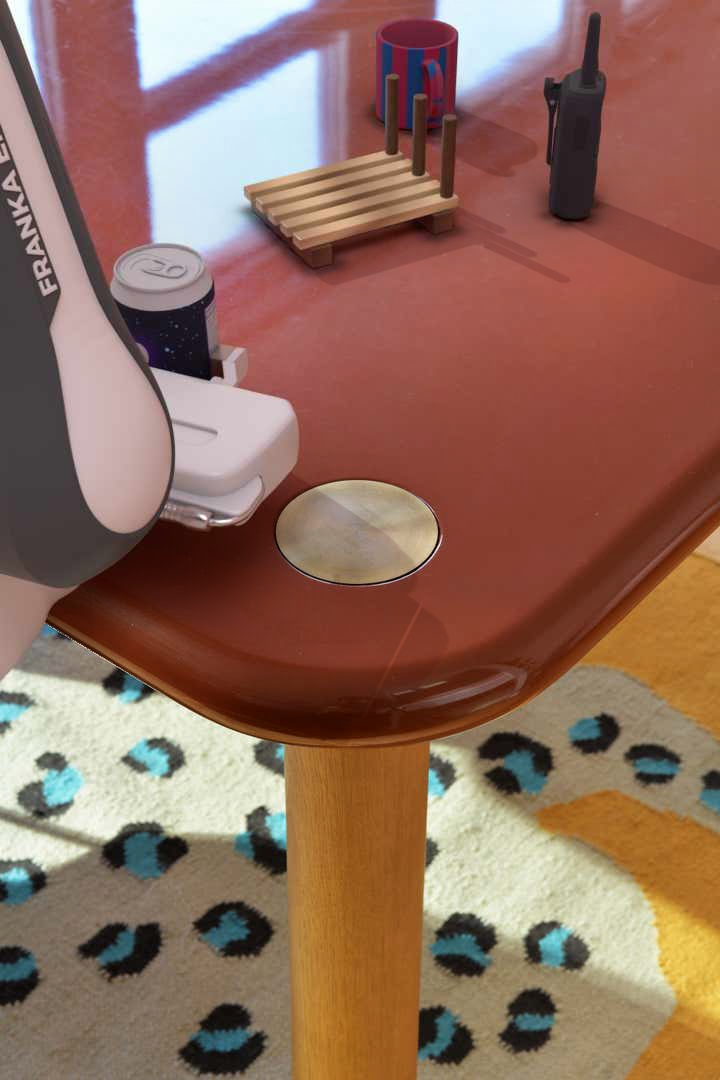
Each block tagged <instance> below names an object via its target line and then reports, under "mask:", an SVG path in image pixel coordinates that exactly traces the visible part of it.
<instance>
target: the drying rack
mask: <svg viewBox="0 0 720 1080" xmlns="http://www.w3.org/2000/svg"><path fill="white" fill-rule="evenodd" d="M457 124H458V117H457V115H456V114H455V115H451V114H448V115H445V116H443V123H442V126H441V130H442V131H441V148H440V149H441V150H440V153H441V154H440V178H439V180H438V179H433V180H431V173H428V172H427V171H426V158H427V156H426V155H427V129H426V127H427V95H425V94H416V95H414V98H413V130H412V142H411V144H412V146H411V159H410V158H404V153H402V151H400V150H399V130H400V128H399V75H397V74H389V75H387V76H386V113H385V123H384V126H385V127H384V128H385V129H384V130H385V131H384V150H381V151H378V152H374V153H370V154H366V155H362V156H358V157H354V158H351V159H346V160H342V161H339V162H334V163H331V164H327V165H322V166H318V167H315V168H311V169H307V170H303V171H299V172H295V173H291V174H287V175H284V176H279V177H276V178H271V179H268V180H267V179H266V180H264V181H260V182H255V183H252V184H247V185H244V186H243V196H244V197H245V198H246V199H247V201H249V202H250V207H251V211H252V212H253V213H254V214H255V215H256V216H257V217H258V218H259V219H260V220H261V221H262V222H263V223H264V224H265V225H266V226H267V227H269V228H270V229H271V230H272V231H273V232H274V233H275V234H276V235H277V236H278V237H279V238H280V239H281V240H282V241H283V242H284V243H285V244H286V245H287V246H288V247H289V248H290V249H291V250H292V251H293V252H294V253H295V254H296V255H298V256H299V258H300V259H302V261H304V263H306V265H308V266H309V267H310V268H311V269H312V270H315V269H318V268H323V267H325V266H329V265H332V264H333V245H332V244H331V242H335V241H339V240H342V239H346V238H349V237H350V238H351V237H353V236H357V235H361V234H363V233H367V232H371V231H374V230H379V229H382V228H385V227H390V226H393V225H396V224H401V223H403V222H407V221H411V220H415V221H416V222H418V223H419V224H420V225H422V226H423V227H424V228H425V229H426V230H428V231H429V232H430V233H431V234H432V235H434V236H435V235H438V234H442V233H445V232H449V231H453V220H454V211H453V210H452V209H454V208H457V207H459V199H460V198H459V196H458V195H457V194H456V193H454V192H455V191H454V189H455V171H456V149H457V147H456V146H457V127H458V125H457Z"/></svg>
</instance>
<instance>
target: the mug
mask: <svg viewBox="0 0 720 1080" xmlns="http://www.w3.org/2000/svg"><path fill="white" fill-rule="evenodd" d="M458 52H459V32H458V29H456V27H454V26H453V25H451V24H449V23H447V22H444V21H441V20H437V19H432V18H425V17H424V18H421V17H412V18H409V17H408V18H401V19H395V20H392V21H389V22H386V23H384V24H383V25H381V26H379V28H377V30H376V32H375V115H376V117H377V118H378V119H379V120H380V121H381V122H382V123H384V124H385V113H386V76H387V75H389V74H397V75H399V129H402V130H408V131H413V98H414V95H416V94H425V95H427V127H426V130H432V129H436V128H440V127H442V123H443V116H445V115H448V114H451V115H455V116H456V98H457V78H458V77H457V75H458V54H459V53H458Z"/></svg>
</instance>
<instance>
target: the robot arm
mask: <svg viewBox="0 0 720 1080" xmlns="http://www.w3.org/2000/svg"><path fill="white" fill-rule="evenodd" d="M10 8H11V7H10V6H9V3H8V1H7V0H0V683H1V682H2V681H3V680H4V679H5V677H7V676H8V675H9V673H10V672H11V671H12V670H13V668H14V667H15V666H16V665H17V663H18V662H19V661H20V660H21V659H22V658H23V656H24V655H25V654H26V653H27V651H28V650H29V649H30V648H31V646H32V645H33V644H34V642H35V641H36V640H37V638H38V637H39V636H40V634H41V632H42V630H43V628H44V626H45V624H46V621H47V618H48V615H49V612H50V611H51V608H52V607H53V606H54V604H56V603H57V602H58V601H59V600H60V599H61V600H62V598H65V597H66V596H67V595H69V594H71V593H72V592H73V591H75V590H76V589H77V588H78V587H79V586H81V584H83V583H86V582H87V581H90V580H91V579H93V578H95V577H97V576H98V575H100V574H102V573H103V572H105V571H106V570H108V569H109V568H111V567H112V566H113V565H115V564H116V563H118V562H119V561H120V560H121V559H122V558H124V557H125V556H127V554H129V553H130V552H131V551H132V550H133V549H134V548H135V547H136V546H137V545H138V544H139V543H140V542H141V541H142V540H143V539H144V538H145V537H146V535H147V534H148V533H149V532H150V530H151V529H152V528H153V526H154V525H156V523H157V522H158V521H163V522H169V523H170V522H171V523H174V524H177V525H181V526H182V527H184V528H186V529H188V530H191V531H196V532H206V533H207V532H210V531H211V530H212V529H213V528H225V527H232V526H237V527H238V526H242V525H244V524H245V523H247V521H248V520H250V519H251V517H252V516H253V514H254V513H255V512H256V510H257V509H258V507H259V506H260V504H261V503H262V502H263V501H265V500H266V498H267V497H268V496H270V494H272V492H274V490H275V489H276V488H277V487H278V486H279V485H280V484H281V483H282V482H283V481H284V480H285V478H286V477H288V475H289V474H290V472H292V470H293V469H294V467H295V466H296V464H297V462H298V459H299V453H300V428H299V421H298V417H297V414H296V412H295V409H294V407H293V405H292V404H291V402H290V401H289V400H287V399H285V398H282V397H279V396H275V395H270V394H265V393H261V392H256V391H253V390H248V389H244V388H239V387H238V386H239V385H240V384H241V382H242V381H243V380H244V379H245V377H246V376H247V374H248V371H249V356H248V355H249V353H248V350H247V348H246V347H241V346H234V345H229V344H225V343H219V346H218V347H219V349H218V350H215V351H214V352H213V353H212V355H211V356H210V367H211V368H212V370H213V372H212V373H211V380H210V381H207V380H203V379H198V378H194V377H190V376H186V375H182V374H178V373H173V372H169V371H165V370H161V369H157V368H153V367H149V365H148V363H147V361H146V360H145V358H144V356H143V354H142V352H141V351H140V349H139V347H138V345H137V344H136V342H135V340H134V338H133V337H132V335H131V333H130V331H129V329H128V327H127V326H126V324H125V322H124V320H123V318H122V316H121V314H120V312H119V309H118V307H117V305H116V303H115V301H114V298H113V296H112V293H111V291H110V288H109V287H110V284H109V283H108V280H107V278H106V275H105V272H104V269H103V267H102V264H101V261H100V258H99V254H98V253H97V249H96V247H95V244H94V241H93V238H92V235H91V233H90V229H89V227H88V226H89V225H88V223H87V221H86V219H85V216H84V212H83V209H82V206H81V204H80V202H79V198H78V195H77V193H76V189H75V187H74V185H73V182H72V179H71V176H70V173H69V170H68V167H67V164H66V162H65V159H64V156H63V153H62V151H61V147H60V145H59V142H58V139H57V136H56V133H55V131H54V127H53V125H52V123H51V118H50V116H49V113H48V110H47V107H46V105H45V102H44V99H43V96H42V93H41V89H40V88H39V85H38V82H37V80H36V76H35V73H34V71H33V68H32V66H31V63H30V59H29V57H28V54H27V51H26V49H25V46H24V44H23V41H22V39H21V38H22V37H21V35H20V32H19V29H18V26H17V25H16V21H15V20H14V19H15V18H14V17H13V14H12V12H11V9H10Z"/></svg>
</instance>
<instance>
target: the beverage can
mask: <svg viewBox="0 0 720 1080" xmlns="http://www.w3.org/2000/svg"><path fill="white" fill-rule="evenodd" d="M112 271H113V277H112V279H111V281H110V284H109V288H110V291H111V293H112V296H113V298H114V301H115V303H116V305H117V307H118V309H119V312H120V314H121V316H122V318H123V320H124V322H125V324H126V326H127V327H128V329H129V331H130V333H131V335H132V337H133V338H134V340H135V342H136V344H137V345H138V347H139V349H140V351H141V352H142V354H143V356H144V358H145V360H146V361H147V363H148V365H149V367H153V368H157V369H161V370H165V371H169V372H173V373H178V374H182V375H186V376H190V377H194V378H198V379H203V380H207V381H210V380H211V373H212V372H213V370H212V368H211V367H210V356H211V355H212V353H213V352H214V351H215V350H218V349H219V347H218V346H219V345H220V334H219V323H218V311H217V299H216V287H215V280H214V277H213V276H212V274H211V273H210V271H209V270H208V268H207V267H206V261H205V258H204V256H203V255H202V254H201V253H200V252H199V251H198V250H196V249H194V248H192V247H190V246H187V245H184V244H181V243H180V244H179V243H174V242H173V243H172V242H155V243H150V244H149V243H148V244H144V245H141V246H137V247H134V248H132V249H129V250H128V251H125V252H124V253H123V254H121V255H120V256H119V257H118V258H117V260H116V261H115V262H114V265H113V270H112Z"/></svg>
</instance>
